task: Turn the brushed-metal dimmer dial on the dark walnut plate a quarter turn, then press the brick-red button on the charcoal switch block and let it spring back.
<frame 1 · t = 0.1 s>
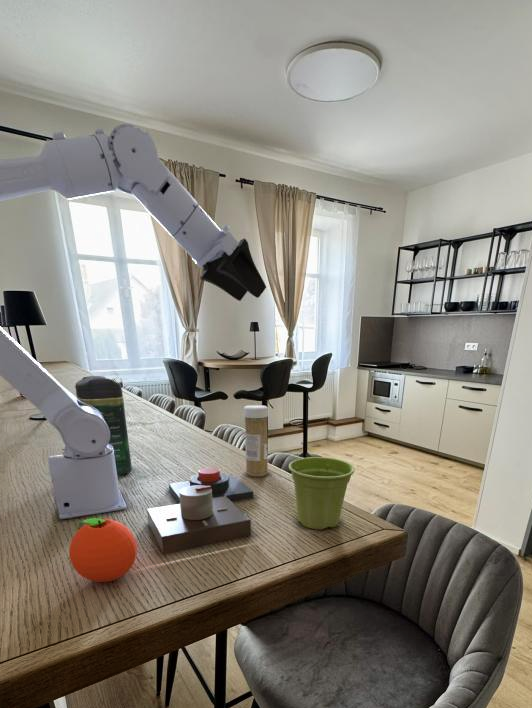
hand: (252, 294, 66), 32 cm above the counter, tool tilted 50°, fingers open, 7 cm apart
clementine: (105, 577, 47), on the counter
switch block: (210, 494, 72), on the counter
dimmer plate: (198, 530, 58), on the counter
plant pot: (318, 522, 62), on the counter
dial: (196, 501, 57), point 4 cm above the counter, hinge at 0.0°
coffee jar: (111, 472, 83), on the counter
spice jar: (256, 474, 83), on the counter
switch button: (209, 475, 70), point 3 cm above the counter, slide at 0.1 cm
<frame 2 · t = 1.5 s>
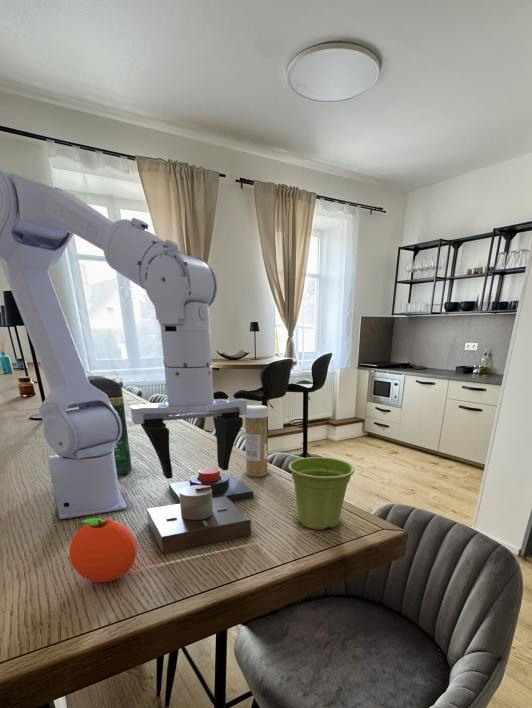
hand: (196, 472, 55), 9 cm above the counter, tool pointing down, fingers open, 7 cm apart
nothing on the counter moved.
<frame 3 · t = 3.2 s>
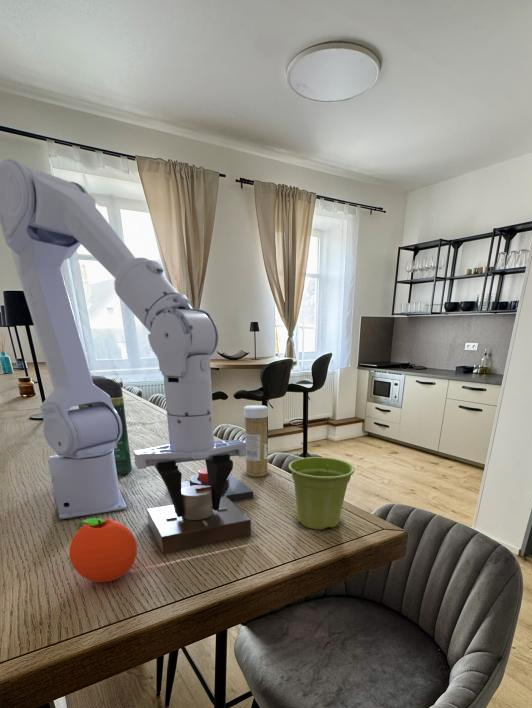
hand: (196, 510, 57), 3 cm above the counter, tool pointing down, fingers closed on dial, 4 cm apart
dial: (196, 501, 57), point 4 cm above the counter, hinge at -0.1°, touching gripper
everything else where it was.
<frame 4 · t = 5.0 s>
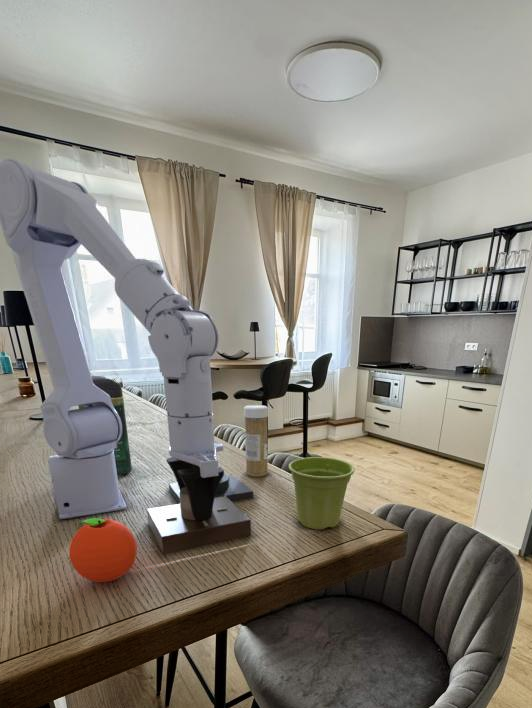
hand: (197, 511, 57), 3 cm above the counter, tool pointing down, fingers closed on dial, 4 cm apart
dial: (196, 501, 57), point 4 cm above the counter, hinge at 89.9°, touching gripper
everything else where it was.
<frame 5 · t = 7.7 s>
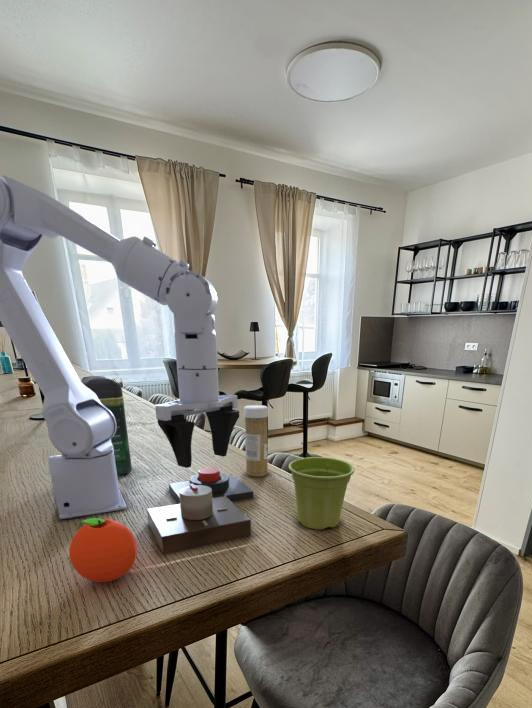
hand: (203, 460, 63), 8 cm above the counter, tool pointing down, fingers open, 7 cm apart
dial: (196, 501, 57), point 4 cm above the counter, hinge at 90.2°
everything else where it was.
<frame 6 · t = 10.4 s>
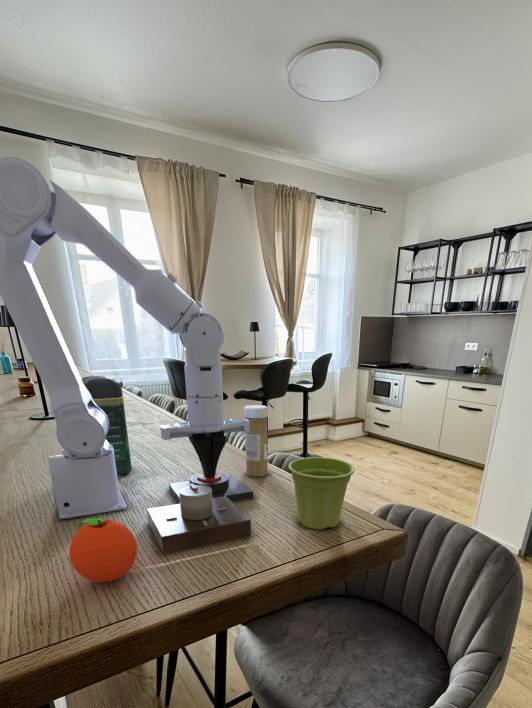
hand: (209, 476, 70), 3 cm above the counter, tool pointing down, fingers closed, pressing on switch button
switch button: (209, 481, 71), point 2 cm above the counter, slide at -0.9 cm, touching gripper
everything else where it was.
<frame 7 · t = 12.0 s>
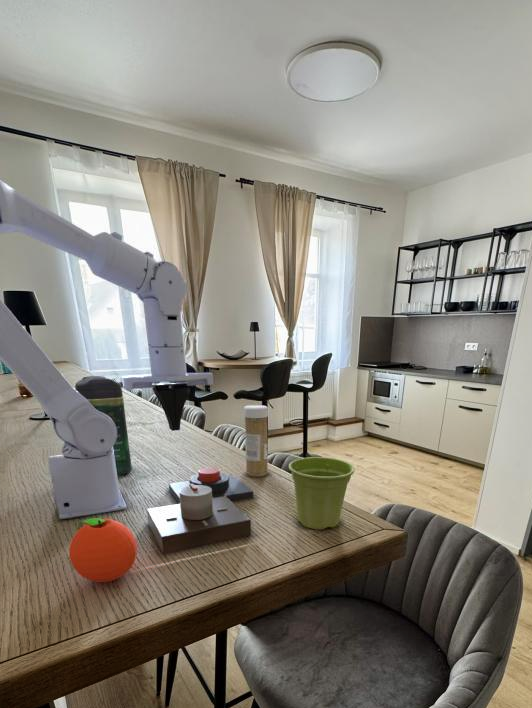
hand: (174, 429, 72), 10 cm above the counter, tool pointing down, fingers closed
switch button: (209, 475, 70), point 3 cm above the counter, slide at 0.1 cm
everything else where it was.
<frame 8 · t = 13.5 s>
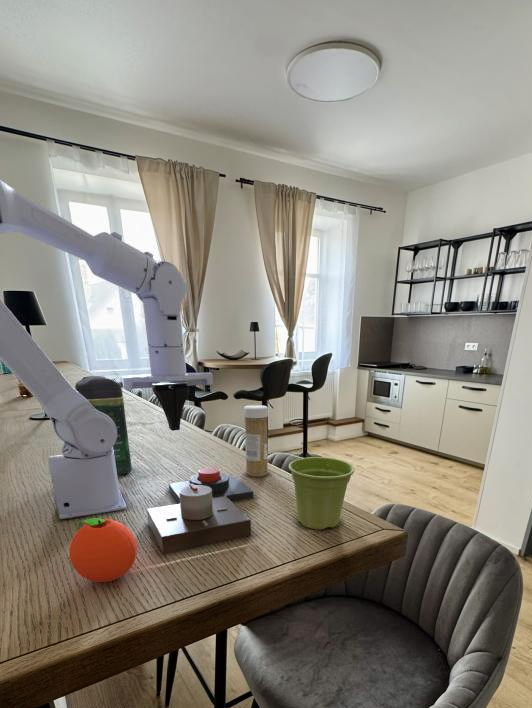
hand: (174, 429, 72), 10 cm above the counter, tool pointing down, fingers closed
nothing on the counter moved.
at the end: dial at +90° (first picture: +0°); switch button pushed in 1.1 cm at the most during the clip, back to where it started at the end; switch button slide at 0.1 cm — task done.
